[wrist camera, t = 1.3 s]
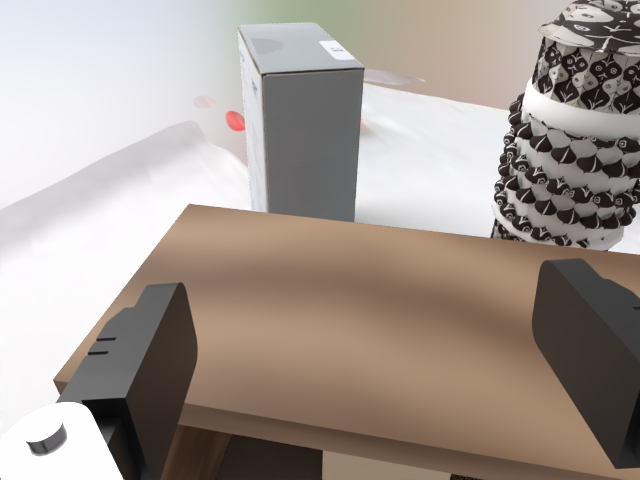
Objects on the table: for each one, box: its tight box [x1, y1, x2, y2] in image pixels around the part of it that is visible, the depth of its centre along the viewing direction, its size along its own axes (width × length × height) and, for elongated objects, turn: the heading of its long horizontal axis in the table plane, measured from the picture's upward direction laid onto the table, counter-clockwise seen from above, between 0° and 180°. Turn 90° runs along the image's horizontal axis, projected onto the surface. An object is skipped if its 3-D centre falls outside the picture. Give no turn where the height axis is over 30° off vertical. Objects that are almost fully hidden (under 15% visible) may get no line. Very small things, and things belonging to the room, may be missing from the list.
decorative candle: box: [488, 0, 640, 251], centre depth 33 cm, size 9×9×25 cm
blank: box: [322, 450, 451, 480], centre depth 25 cm, size 5×5×12 cm
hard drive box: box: [238, 22, 365, 223], centre depth 45 cm, size 16×8×20 cm, turn 13°
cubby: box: [53, 204, 640, 480], centre depth 23 cm, size 11×22×17 cm, turn 79°
